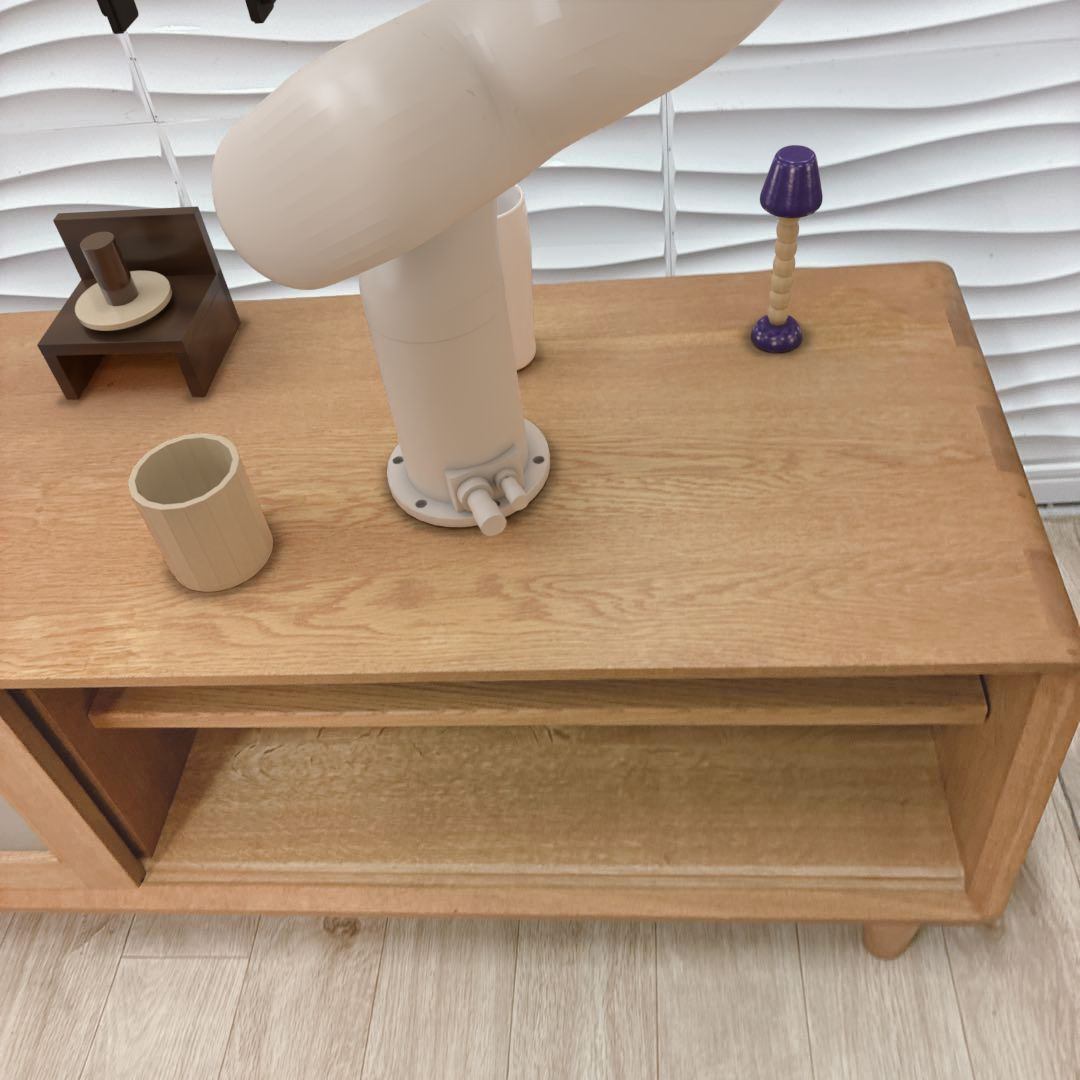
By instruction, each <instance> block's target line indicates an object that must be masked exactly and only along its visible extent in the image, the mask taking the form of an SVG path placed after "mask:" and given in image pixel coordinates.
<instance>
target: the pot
mask: <svg viewBox="0 0 1080 1080" xmlns="http://www.w3.org/2000/svg"><path fill="white" fill-rule="evenodd" d="M127 485H128V490H129V494H130V497H131V499H132V501H133V503H134V504H135V507H136V509H137V510H138V512H139V514H140V516H141V518H142V520H143V521H144V524H145V525H146V527H147V529H148V531H149V533H150V535H151V536H152V538H153V540H154V543H155V544H156V546H157V548H158V550H159V552H160V553H161V556H162V557H163V559H164V561H165V563H166V565H167V567H168V569H169V570H170V572H171V574H172V575H173V576H174V579H176V580H177V582H178V583H179V584H181V585H182V586H184V587H186V588H187V589H190V590H193V591H197V592H201V593H203V592H204V593H211V592H212V593H213V592H221V591H224V590H228V589H231V588H232V589H233V588H234V587H237V586H239V585H241V584H243V583H245V582H247V581H248V580H250V579H251V578H253V577H254V576H255V575H256V574H258V573H259V572H260V571H261V570H262V569H263V568H264V567H265V565H266V564H267V562H268V561H269V559H270V557H271V555H272V552H273V549H274V537H273V534H272V531H271V530H270V526H269V523H268V521H267V519H266V516H265V514H264V512H263V509H262V507H261V504H260V502H259V499H258V497H257V494H256V492H255V490H254V487H253V484H252V482H251V480H250V478H249V475H248V472H247V470H246V468H245V465H244V463H243V460H242V458H241V456H240V453H239V451H238V449H237V445H235V444H234V443H233V442H232V441H230V440H229V439H227V438H226V437H225V436H222V435H218V434H213V433H210V432H209V433H207V432H201V433H200V432H199V433H189V434H183V435H180V436H177V437H174V438H171V439H167V440H165V441H162V442H161V443H159V444H158V445H157V446H155V447H153V448H152V449H150V450H148V451H147V452H146V453H144V454H143V455H142V457H141V458H140V459H139V460H138V461H137V462H136V464H134V465H133V467H132V469H131V472H130V475H129V478H128V480H127Z"/></svg>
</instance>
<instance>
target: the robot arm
mask: <svg viewBox="0 0 1080 1080" xmlns="http://www.w3.org/2000/svg"><path fill="white" fill-rule="evenodd" d="M244 2H245V4H246V8H247V12H248V15H249V18H250V19H249V20H250V21H251V23H254V24H256V25H257V24H258V25H259V24H264V23H265V22H266V20H267V18H268V17H269V16H270V14H271V13H272V11H273V10H274V7H275V3H276V2H277V0H244ZM783 2H784V0H430V1H427V2H425V3H422V4H421V5H419V6H417V7H414V8H411V9H410V10H408V11H406V12H404V13H401V14H400V15H398V16H395V17H394V18H392V19H389V20H387V21H386V22H384V23H381V24H378V25H377V26H375V27H373V28H371V29H369V30H367V31H365V32H363V33H360V34H359V35H357V36H355V37H352V38H351V39H349V40H346V41H344V42H343V43H341V44H339V45H336V46H335V47H333V48H331V49H329V50H328V51H326V52H325V53H322V54H321V55H319V56H318V57H316V58H314V59H313V60H311V61H310V62H308V63H306V65H303V66H302V67H300V68H299V69H298V70H297V71H295V72H294V73H292V74H291V75H290V76H289V77H287V79H285V80H284V81H283V82H281V84H279V85H278V86H277V87H276V88H275V89H273V90H272V91H271V92H270V93H269V94H268V95H267V96H266V97H264V98H263V99H262V100H261V101H260V102H259V103H258V104H257V105H255V106H254V107H253V108H252V109H251V110H249V112H248V113H246V114H245V115H244V116H243V117H242V118H241V119H239V120H238V121H237V122H236V123H235V124H234V125H232V127H231V128H230V129H229V130H228V131H227V132H226V133H225V134H224V135H223V137H222V139H221V140H220V142H219V145H218V146H217V149H216V150H215V154H214V157H213V162H212V167H211V177H210V181H211V182H210V183H211V185H210V187H211V196H212V202H213V206H214V210H215V213H216V216H217V220H218V223H219V225H220V227H221V229H222V231H223V234H224V235H225V238H226V239H227V241H228V242H229V244H230V246H232V248H233V250H234V251H235V252H236V253H237V254H238V255H239V257H240V258H241V259H242V260H243V261H244V262H245V263H246V264H247V265H248V266H249V267H251V268H252V270H254V271H255V272H257V273H258V274H260V275H261V276H263V277H264V278H266V279H268V280H270V281H272V282H273V283H276V284H278V285H280V286H283V287H285V288H290V289H294V290H300V291H314V290H320V289H324V288H327V287H330V286H333V285H336V284H338V283H341V282H343V281H346V280H348V279H351V278H353V277H355V276H358V288H359V295H360V301H361V304H362V305H361V306H362V307H363V313H364V316H365V320H366V324H367V329H368V332H369V336H370V339H371V343H372V347H373V351H374V355H375V359H376V362H377V366H378V370H379V373H380V377H381V380H382V384H383V388H384V392H385V396H386V399H387V403H388V407H389V411H390V414H391V419H392V422H393V426H394V430H395V434H396V437H397V440H398V443H397V445H396V446H395V448H394V449H393V451H392V452H391V454H390V457H389V459H388V461H387V470H386V477H387V483H388V486H389V490H390V492H391V495H392V498H393V499H394V501H395V503H396V504H397V505H398V507H400V508H401V509H402V510H403V511H404V512H405V513H406V514H408V515H409V516H411V517H413V518H415V519H416V520H418V521H421V522H423V523H427V524H430V525H433V526H439V527H446V528H468V527H476V526H478V527H479V530H480V531H481V533H482V534H483V535H484V536H486V537H494V536H497V535H499V534H500V533H502V532H503V531H504V530H505V528H506V527H507V524H508V520H507V518H506V517H509V516H511V515H512V514H514V513H516V512H518V511H522V510H523V509H526V508H527V507H528V506H529V503H530V502H532V501H533V500H534V498H536V496H537V495H538V494H539V493H540V491H541V490H542V489H543V487H544V486H545V483H546V482H547V480H548V478H549V475H550V469H551V454H550V448H549V444H548V441H547V439H546V437H545V435H544V433H543V432H542V431H541V430H540V429H539V427H538V426H537V425H536V424H534V423H533V422H531V421H530V420H528V419H527V418H526V417H524V411H523V410H524V409H523V403H522V397H521V390H520V384H519V377H518V370H516V363H515V356H514V350H513V343H512V336H511V330H510V323H509V316H508V310H507V303H506V296H505V286H504V279H503V272H502V265H501V258H500V250H499V239H498V227H497V197H498V196H499V195H501V194H502V193H504V192H506V191H507V190H509V189H510V188H512V187H513V186H515V185H516V184H517V185H519V183H521V182H522V181H524V179H526V178H527V177H530V175H531V174H533V173H534V172H535V171H537V170H538V169H539V168H540V167H542V166H543V165H544V164H545V163H547V162H548V161H550V160H551V158H553V157H554V156H556V155H557V154H558V153H561V152H562V151H563V150H565V149H567V148H568V147H570V146H571V145H573V144H575V143H577V142H579V141H580V140H582V139H584V138H586V137H588V136H590V135H592V134H594V133H596V132H598V131H600V130H602V129H604V128H606V127H608V126H610V125H612V124H614V123H616V122H619V121H620V120H622V119H623V118H625V117H627V116H629V115H630V114H631V113H633V112H636V110H639V109H641V108H642V107H644V106H646V105H648V104H650V103H651V102H653V101H655V100H657V99H659V98H661V97H663V96H664V95H666V94H669V93H670V92H671V91H673V90H675V89H677V88H678V87H680V86H682V85H684V84H685V83H688V82H689V81H690V80H692V79H694V78H695V77H697V76H698V75H700V74H701V73H703V72H704V71H706V70H707V69H708V68H710V67H712V66H713V65H715V64H716V63H717V62H718V61H720V60H721V59H722V58H724V57H726V55H728V54H729V53H730V52H732V50H734V49H736V47H738V46H739V45H740V44H741V43H743V42H744V41H746V39H747V38H748V37H749V36H750V35H751V34H753V32H755V31H756V30H757V29H759V27H760V26H761V25H762V24H764V22H765V21H766V20H767V19H768V18H769V17H770V16H771V15H772V14H773V13H774V12H775V11H776V10H777V9H778V7H780V5H781V4H782V3H783ZM96 3H97V5H98V8H99V10H100V12H101V14H102V15H103V17H105V18H107V21H108V23H109V27H110V28H111V31H112V33H113V34H114V35H122V34H123V35H124V34H125V32H127V30H128V29H129V28H130V27H131V26H132V25H133V23H134V22H135V21H137V19H138V18H139V9H138V7H137V4H136V2H135V0H96Z"/></svg>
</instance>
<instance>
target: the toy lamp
mask: <svg viewBox="0 0 1080 1080" xmlns="http://www.w3.org/2000/svg"><path fill="white" fill-rule="evenodd" d="M760 191H761V192H760V195H759V203H760V204H759V205H760V206H761V208H762V209H763V210H764V211H765V212H767V213H768V214H769V215H772V216H774V217H777V218H778V222H777V225H776V228H775V229H776V230H775V232H776V239H775V243H774V253H775V256H774V258H773V261H772V270H773V273H772V275H771V279H770V286H771V289H770V292H769V297H768V301H769V303H770V304H769V306H768V308H767V314H765V315H763V316H762V317H760V318H759V319H758V320H757V321H756V323H755V324H754V325H753V327H752V330H751V332H750V339H751V342H752V343H753V344H754V345H755V346H756V347H757V348H759V349H760V350H761V351H764V352H768V353H769V352H770V353H786V352H791V351H792V350H794V349H796V348H797V347H799V346H800V345H801V343H802V341H803V332H802V328H801V326H800V324H799V322H798V320H796V319H795V318H794V317H792V316H791V315H789V314H790V308H789V305H790V302H791V299H792V292H791V289H792V287H793V284H794V274H793V273H794V271H795V269H796V258H795V256H796V254H797V251H798V240H797V238H798V237H799V233H800V224H799V221H800V219H801V218H805V217H808V216H810V215H813V214H815V213H816V212H817V211H818V210H819V209H820V208H821V206H822V204H823V190H822V182H821V175H820V168H819V164H818V157H817V155H816V153H815V151H814V150H813V149H812V148H811V147H807V146H805V145H799V144H790V145H786V146H783V147H781V148H779V149H778V150H777V151H776V153H775V154H774V156H773V159H772V161H771V164H770V167H769V168H768V172H767V174H766V177H765V180H764V183H763V185H762V188H761V190H760Z"/></svg>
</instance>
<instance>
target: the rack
mask: <svg viewBox="0 0 1080 1080" xmlns="http://www.w3.org/2000/svg"><path fill="white" fill-rule="evenodd" d="M52 221H53V224H54V226H55V227H56V228H55V229H56V230H57V232H58V234H59V236H60V238H61V240H62V243H63V244H64V245H63V246H64V247H65V249H66V251H67V253H68V255H69V257H70V259H71V261H72V264H73V266H74V267H75V269H76V271H77V273H78V276H79V278H80V281H79V282H78V283H77V285H76V287H75V288H74V289H73V291H72V292H71V294H70V296H69V297H68V299H66V301H65V303H64V304H63V306H62V307H61V308H60V310H59V312H58V313H57V314H56V316H55V318H54V319H53V320H52V322H51V323H50V325H49V326H48V328H47V330H46V331H45V333H44V334H43V335H42V337H41V338H40V340H39V341H38V343H37V345H36V346H37V348H38V350H39V351H40V353H41V355H42V357H43V359H44V360H45V362H46V364H47V367H48V368H49V370H50V372H51V373H52V375H53V377H54V379H55V381H56V384H58V387H59V388H60V390H61V392H62V394H63V395H64V398H65V399H66V401H68V400H70V401H71V400H80V398H81V397H82V395H83V393H84V391H85V390H86V388H87V387H88V385H89V383H90V381H91V380H92V378H93V376H94V375H95V373H96V371H98V368H99V367H100V365H101V363H102V362H103V360H104V358H105V357H106V355H125V354H127V355H128V354H130V355H131V354H161V353H173V355H174V359H175V360H176V363H177V365H178V367H179V370H180V372H181V374H182V376H183V379H184V381H185V383H186V385H187V388H188V390H189V392H190V395H191V397H192V398H199V397H201V398H203V397H206V395H207V393H208V391H209V389H210V387H211V385H212V383H213V381H214V379H215V377H216V375H217V373H218V370H219V369H220V366H221V364H222V362H223V360H224V357H225V356H226V353H227V352H228V350H229V347H230V345H231V344H232V341H233V339H234V337H235V335H236V333H237V330H238V329H239V326H240V324H241V320H240V316H239V314H238V312H237V308H236V306H235V303H234V301H233V298H232V295H231V292H230V290H229V286H228V284H227V281H226V278H225V276H224V272H223V270H222V268H221V267H222V266H221V265H220V262H219V260H218V256H217V253H216V251H215V249H214V246H213V243H212V240H211V237H210V235H209V232H208V229H207V227H206V223H205V221H204V218H203V216H202V213H201V211H200V208H199V206H179V207H177V206H176V207H159V208H156V207H155V208H137V209H136V208H135V209H119V210H117V209H116V210H97V211H77V212H76V211H75V212H59V213H57V214H56V216H55V217H54V218H53V219H52ZM97 232H110V233H112V234H113V235H114V237H115V239H116V242H117V244H118V246H119V248H120V251H121V253H122V255H123V258H124V260H125V262H126V264H127V267H128V269H129V271H152V272H156V273H159V274H161V275H163V276H164V277H166V278H167V279H168V281H169V283H170V285H171V288H172V296H171V299H170V301H169V303H168V304H167V305H166V306H165V308H164V309H163V310H161V311H160V312H159V313H158V314H156V315H155V316H153V317H152V318H150V319H148V320H146V321H144V322H142V323H140V324H137V325H135V326H132V327H128V328H124V329H120V330H112V331H100V330H94V329H90V328H87V327H86V326H84V325H83V324H81V323H80V321H79V320H78V318H77V316H76V313H75V305H76V302H77V301H78V299H79V297H80V296H81V295H82V294H83V293H84V292H85V291H86V290H87V289H89V288H90V287H91V286H93V285H94V284H96V283H97V281H96V279H95V277H94V275H93V272H92V270H91V268H90V266H89V264H88V262H87V260H86V258H85V255H84V253H83V251H82V249H81V247H80V243H81V241H82V240H83V239H84V238H86V237H87V236H89V235H91V234H94V233H97Z"/></svg>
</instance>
